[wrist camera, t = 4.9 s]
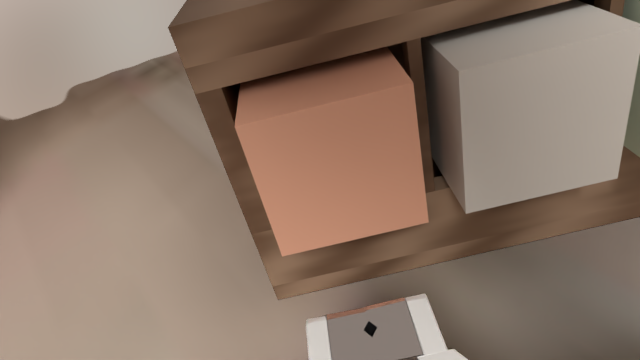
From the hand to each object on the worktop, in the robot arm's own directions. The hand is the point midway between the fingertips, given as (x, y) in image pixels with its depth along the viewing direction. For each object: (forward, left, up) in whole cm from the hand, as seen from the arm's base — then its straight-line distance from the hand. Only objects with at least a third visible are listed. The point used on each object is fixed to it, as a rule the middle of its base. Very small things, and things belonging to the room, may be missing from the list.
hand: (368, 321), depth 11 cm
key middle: (+10, +5, -3) cm, 12 cm away
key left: (+3, +8, -3) cm, 9 cm away
